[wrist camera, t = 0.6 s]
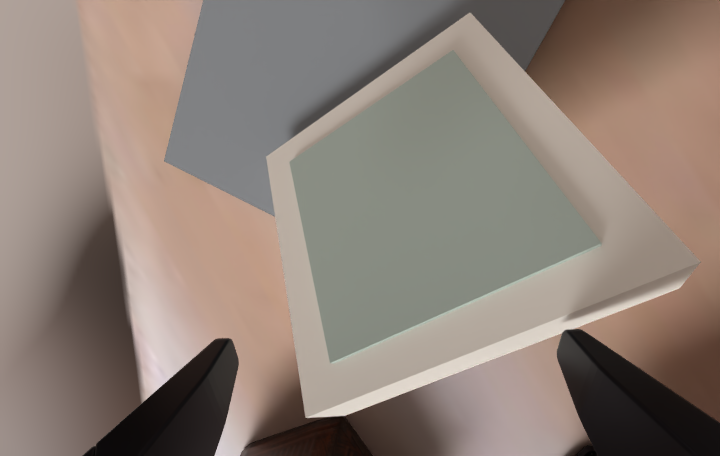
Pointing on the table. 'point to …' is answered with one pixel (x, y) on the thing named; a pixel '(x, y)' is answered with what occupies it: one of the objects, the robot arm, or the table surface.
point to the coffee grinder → (312, 441)
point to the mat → (307, 71)
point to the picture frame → (451, 226)
